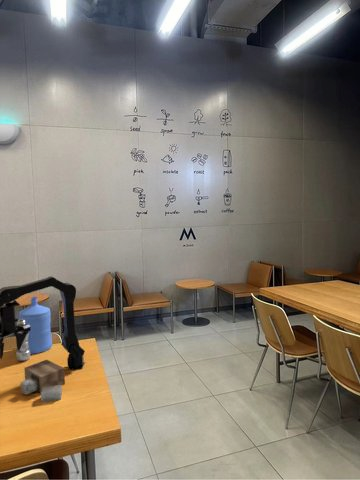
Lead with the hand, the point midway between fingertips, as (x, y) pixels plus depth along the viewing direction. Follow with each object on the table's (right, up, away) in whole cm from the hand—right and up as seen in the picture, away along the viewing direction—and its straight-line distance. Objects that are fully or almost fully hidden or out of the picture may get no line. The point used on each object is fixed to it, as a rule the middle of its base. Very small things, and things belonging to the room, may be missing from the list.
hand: (9, 353), depth 139 cm
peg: (+12, -12, -6) cm, 18 cm away
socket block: (+15, -13, +1) cm, 19 cm away
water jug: (-6, -11, +40) cm, 42 cm away
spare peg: (+22, -14, -11) cm, 28 cm away
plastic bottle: (-6, -12, +26) cm, 29 cm away
